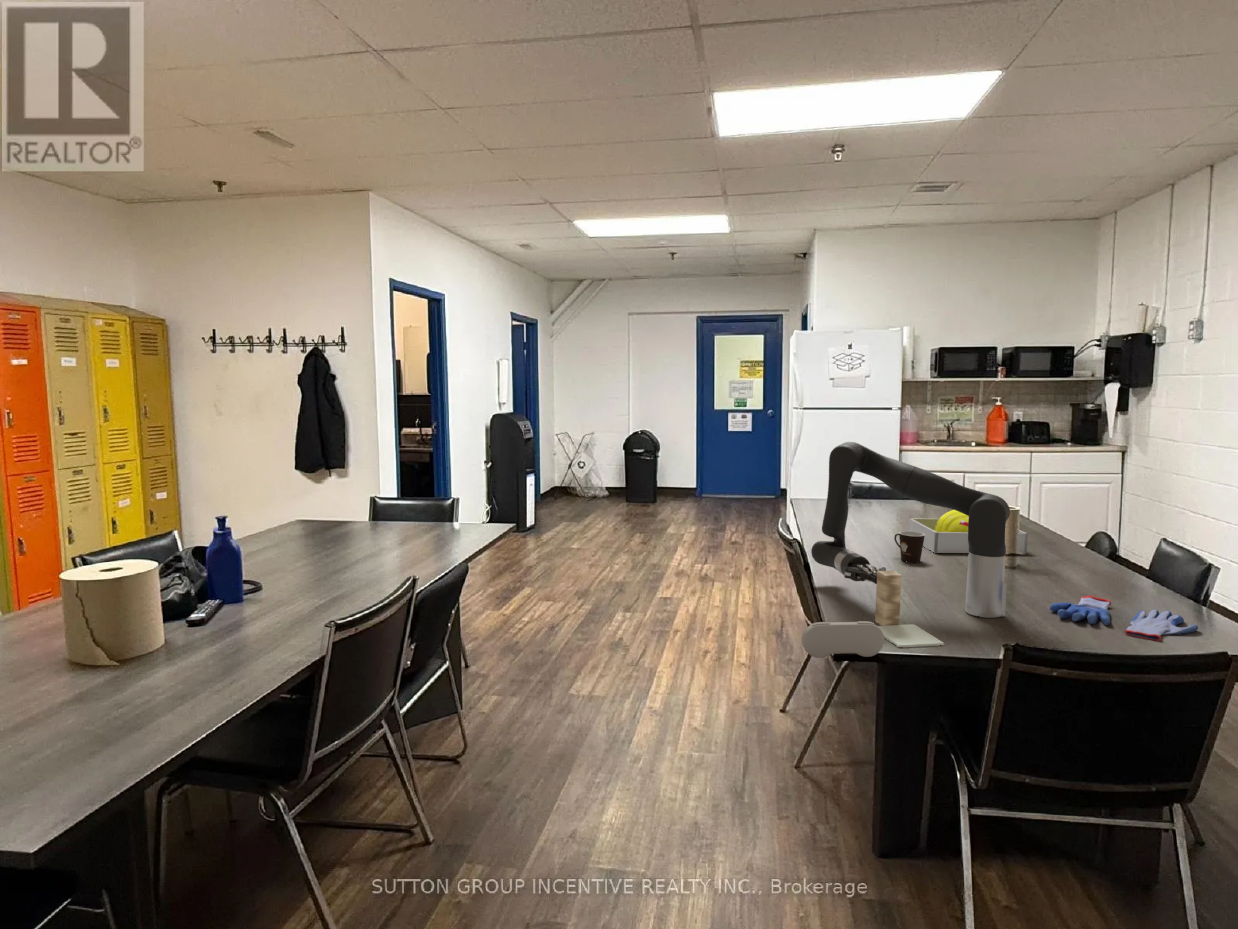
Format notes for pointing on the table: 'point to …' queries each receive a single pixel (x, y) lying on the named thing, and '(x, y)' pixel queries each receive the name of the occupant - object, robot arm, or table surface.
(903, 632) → the felt mat
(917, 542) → the coffee mug
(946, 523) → the hard hat
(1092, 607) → the pair of gloves
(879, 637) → the game controller
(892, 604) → the beech block
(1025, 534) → the grey crate
